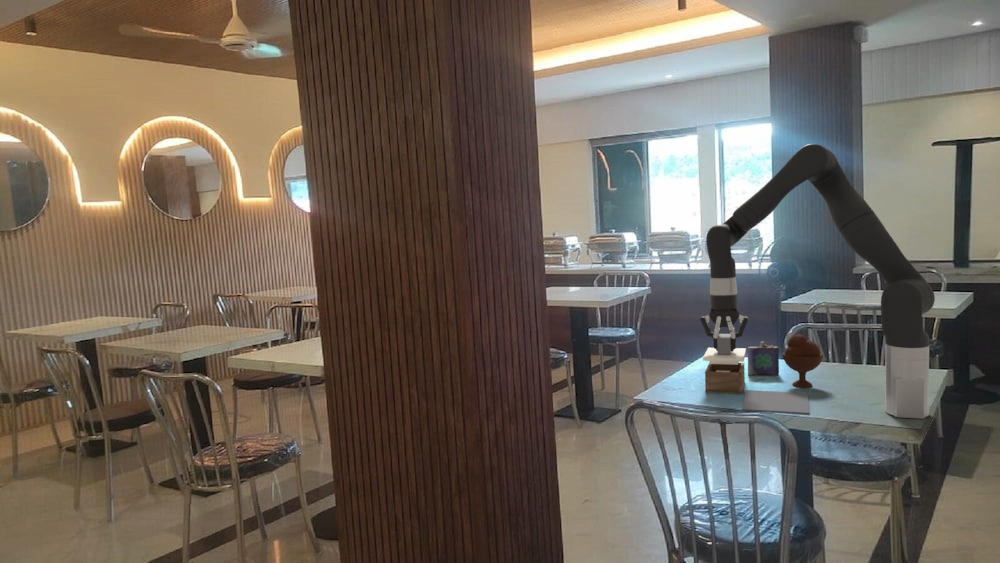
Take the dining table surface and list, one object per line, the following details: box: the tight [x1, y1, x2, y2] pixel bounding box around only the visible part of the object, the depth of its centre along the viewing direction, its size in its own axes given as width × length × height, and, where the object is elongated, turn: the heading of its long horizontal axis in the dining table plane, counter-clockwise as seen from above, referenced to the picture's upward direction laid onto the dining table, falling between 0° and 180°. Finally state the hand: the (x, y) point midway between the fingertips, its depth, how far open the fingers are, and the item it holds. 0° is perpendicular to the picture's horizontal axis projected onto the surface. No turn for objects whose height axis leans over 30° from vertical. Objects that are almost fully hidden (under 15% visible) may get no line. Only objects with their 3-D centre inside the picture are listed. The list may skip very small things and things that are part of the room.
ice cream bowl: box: [781, 333, 824, 389], centre depth 197 cm, size 11×11×15 cm
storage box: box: [704, 362, 746, 395], centre depth 200 cm, size 14×10×6 cm
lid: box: [702, 333, 747, 365], centre depth 199 cm, size 15×11×7 cm
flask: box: [747, 340, 780, 377], centre depth 213 cm, size 9×3×11 cm, turn 76°
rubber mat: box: [741, 389, 811, 415], centre depth 182 cm, size 20×16×1 cm
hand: (725, 350), depth 199 cm, fingers closed on lid, 3 cm apart
